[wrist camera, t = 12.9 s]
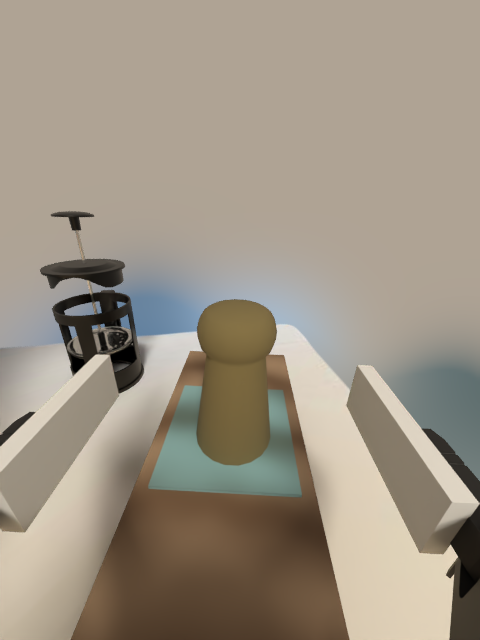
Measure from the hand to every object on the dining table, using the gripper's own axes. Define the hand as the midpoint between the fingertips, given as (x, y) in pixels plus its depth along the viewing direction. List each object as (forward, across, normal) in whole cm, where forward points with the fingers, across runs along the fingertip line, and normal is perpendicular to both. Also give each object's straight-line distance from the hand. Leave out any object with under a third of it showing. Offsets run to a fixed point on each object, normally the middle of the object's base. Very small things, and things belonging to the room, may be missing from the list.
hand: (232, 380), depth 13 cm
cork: (+4, 0, -8) cm, 9 cm away
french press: (+20, -20, -16) cm, 32 cm away
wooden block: (+4, 0, -15) cm, 16 cm away
